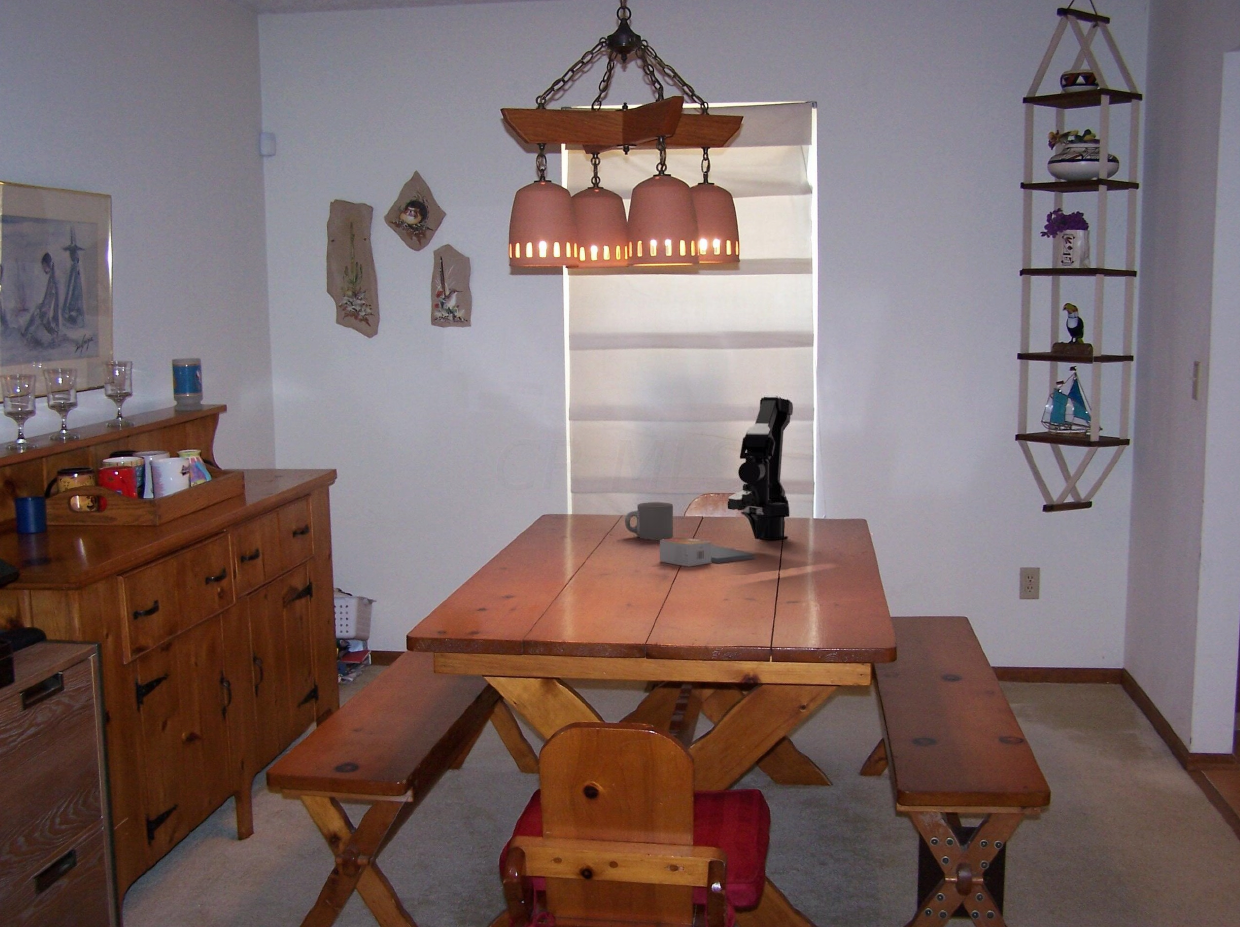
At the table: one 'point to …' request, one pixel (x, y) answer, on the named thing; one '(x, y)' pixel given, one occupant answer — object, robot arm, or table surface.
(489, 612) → the table surface
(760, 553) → the table surface
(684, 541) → the small box
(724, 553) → the mat
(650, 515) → the coffee mug
